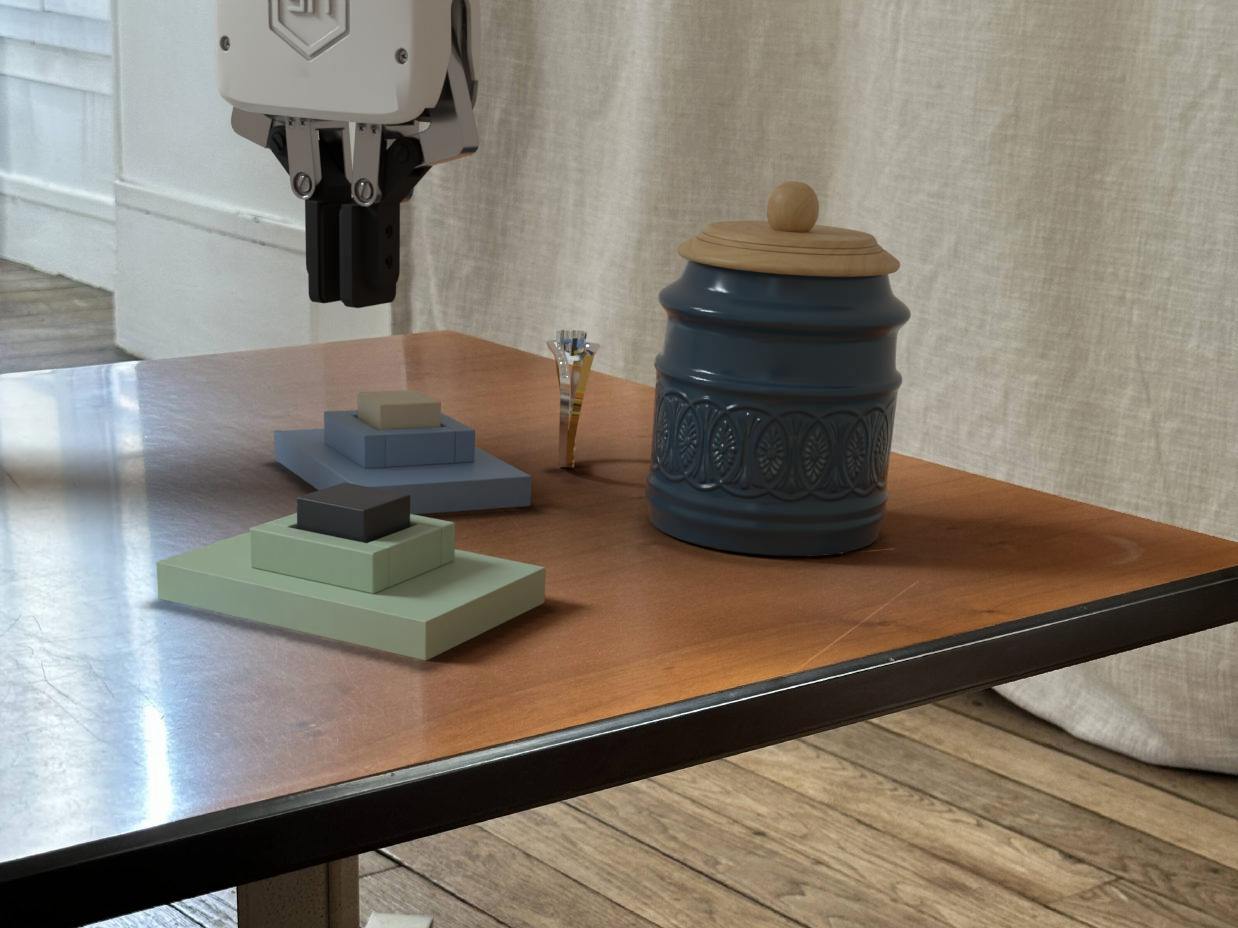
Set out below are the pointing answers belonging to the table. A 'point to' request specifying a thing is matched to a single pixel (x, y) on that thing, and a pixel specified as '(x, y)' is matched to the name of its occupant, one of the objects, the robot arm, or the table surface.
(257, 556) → the stepped pedestal base
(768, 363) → the canister
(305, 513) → the key
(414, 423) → the key
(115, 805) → the table surface
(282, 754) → the table surface
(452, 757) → the table surface
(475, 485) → the blue stepped base
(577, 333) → the ring
